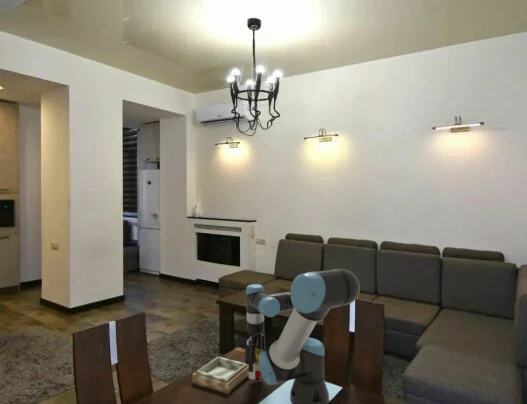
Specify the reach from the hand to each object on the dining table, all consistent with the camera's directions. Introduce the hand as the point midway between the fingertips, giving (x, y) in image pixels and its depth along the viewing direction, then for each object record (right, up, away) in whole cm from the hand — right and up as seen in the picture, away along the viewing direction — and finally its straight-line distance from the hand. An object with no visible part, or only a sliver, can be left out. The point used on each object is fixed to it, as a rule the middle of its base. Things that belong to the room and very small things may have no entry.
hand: (256, 374), depth 154 cm
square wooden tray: (-15, -3, +3) cm, 15 cm away
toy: (0, -2, 0) cm, 2 cm away
